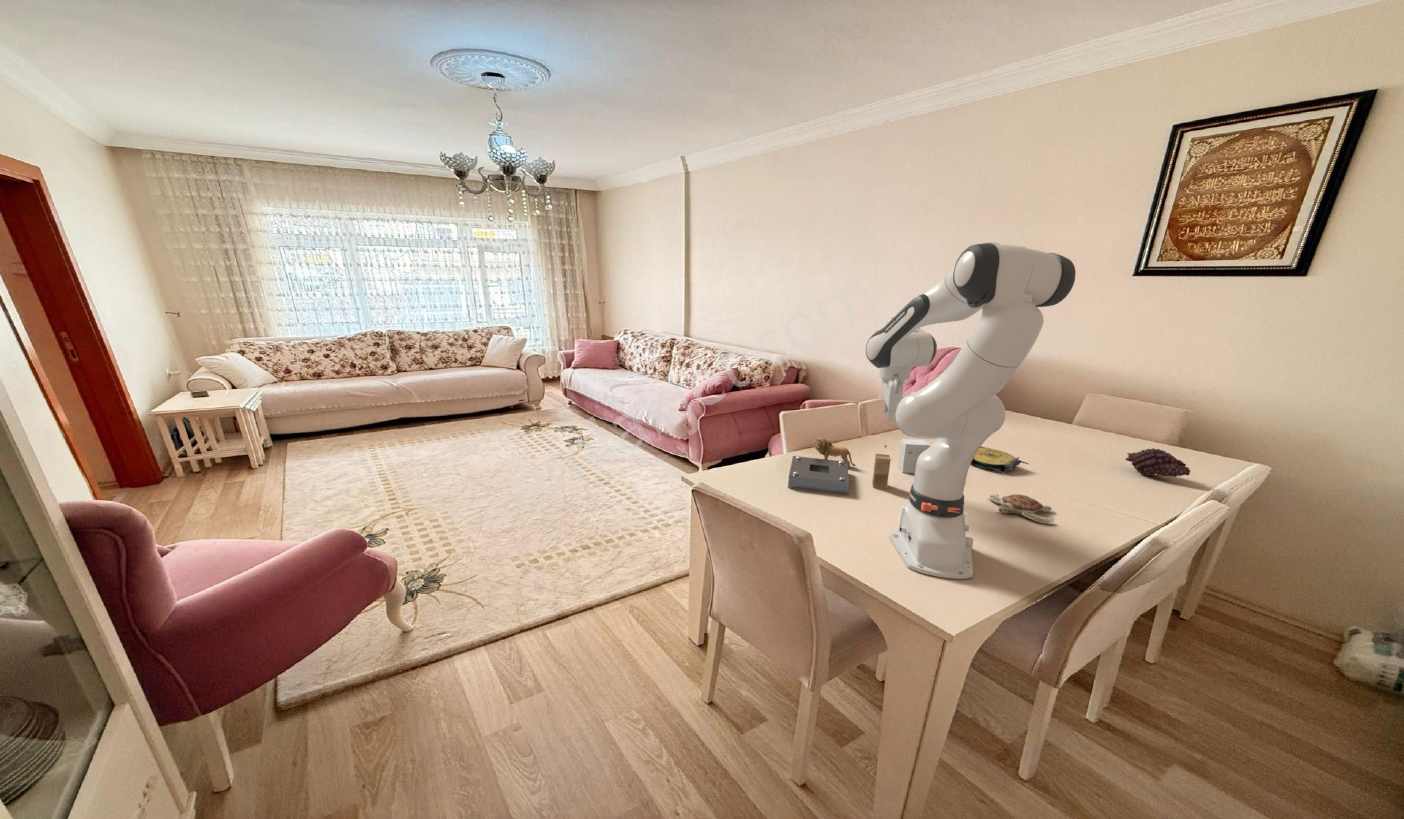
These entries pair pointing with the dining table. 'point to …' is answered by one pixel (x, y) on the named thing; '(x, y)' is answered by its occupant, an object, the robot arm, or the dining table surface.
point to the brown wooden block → (881, 471)
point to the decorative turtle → (1021, 506)
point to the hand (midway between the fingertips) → (888, 416)
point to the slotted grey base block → (819, 475)
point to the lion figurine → (832, 450)
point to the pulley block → (994, 460)
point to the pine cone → (1157, 463)
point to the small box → (910, 454)
